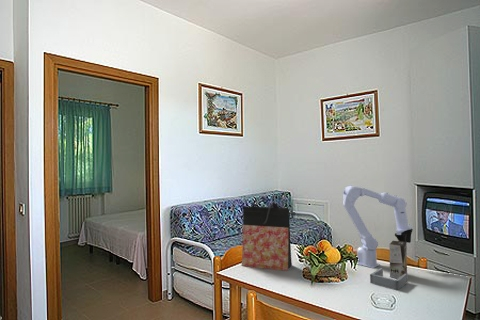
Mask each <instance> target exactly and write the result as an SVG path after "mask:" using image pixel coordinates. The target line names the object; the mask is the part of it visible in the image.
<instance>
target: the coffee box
mask: <svg viewBox="0 0 480 320" xmlns="http://www.w3.org/2000/svg"><path fill="white" fill-rule="evenodd" d="M407 249H408V248H407V242H402V241H398V240H392V241H391V242H390V243H389V278H392V279H398V278H399V277H401V276H402V275H404V274H407V275H408V258H407V257H408V256H407V255H408V254H407V253H408V252H407Z"/></svg>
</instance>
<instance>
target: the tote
mask: <svg viewBox="0 0 480 320" xmlns="http://www.w3.org/2000/svg"><path fill="white" fill-rule="evenodd" d="M369 277H370V278H369V280H370V281H369V282H370V284H372V285H376V286H380V287H384V288H386V289H391V290H395V291H399V290H400V289H402V288H403V287H405V285H407V284H408V273H407V274H404V275H402V276H401V277H399V278H396V279H395V278H391V277H385V276H384V269H383V268H382V267H380V268H378V269H377V270H374V271H373V272H372V273H370V274H369Z"/></svg>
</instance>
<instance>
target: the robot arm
mask: <svg viewBox="0 0 480 320" xmlns="http://www.w3.org/2000/svg"><path fill="white" fill-rule="evenodd" d="M342 195H343V196H342V197H343V198H342V201H343V203H342V204H343V207H344V210H345V211H346V213H347V214H348V216H349V218H350V220H351V221H352V223H353V225H354V227H355V228H356V230H357V232H358V236H359V237H360V243H361V244H362V245H361V246H359V247H357V250H356V258H357V257H358V259H359V260H358V264H357V265H359V266H364V267H367V268H372V269H375V268H377V267H378V266H380V263H378V261H377V259H378V258H377V256H378V255H377V248H378V246H379V243H378V242H379V241H378V240H377V239H376V238H375V237H373V235H372V234H371V232H370V231H369V230H368V228H367V226H366V224H365V223H364V221H363V219H362V217H361V216H360V214H359V212H358V210H357V208H356V206H355V203H356V201H357V200H358V198H359V197H364V196H366V197H370V198H374V199H376V200H378V202H379V203H380V204H384V205H386V206H389V207H392V208H393V212H394V217H395V219H394V220H395V225H396V232H395V233H394V236H395V237H396V239H397V241H402V242H406V244H407V243H411V242H412V233H413V228H412V227H411V226H410V224H409V221H408V220H409V219H408V215H407V210H406V207H407V205H408V204H407V202H406V200H405V199H404V198H402V197H398V196H397V195H394V194H393V195H392V194H389V192H386V191H384V192H381V193H378V192H376V191H373V190H371V189H368V188H365V187H359V186H353V185H347V186H345V188H344V190H343V192H342Z"/></svg>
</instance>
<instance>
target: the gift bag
mask: <svg viewBox="0 0 480 320" xmlns="http://www.w3.org/2000/svg"><path fill="white" fill-rule="evenodd" d="M290 216H296V211H291V212H290V210H289V207H279V206H278V205H277V204H276V202H272V203H271V204H270V205H269V206H260V205H258V204H256V203H252V206H248V205H247V206H244V205H243V206H242V247H241V248H242V249H241V250H242V251H241V252H242V255H241V266H242V267H249V268H259V269H267V270H277V271H284V272H285V271H286V272H287V271H288V272H289V270H290V268H291V267H292V265H293V263H292V250H291V247H292V245H291V228H290V227H291V225H290V223H291V222H290Z"/></svg>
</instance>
